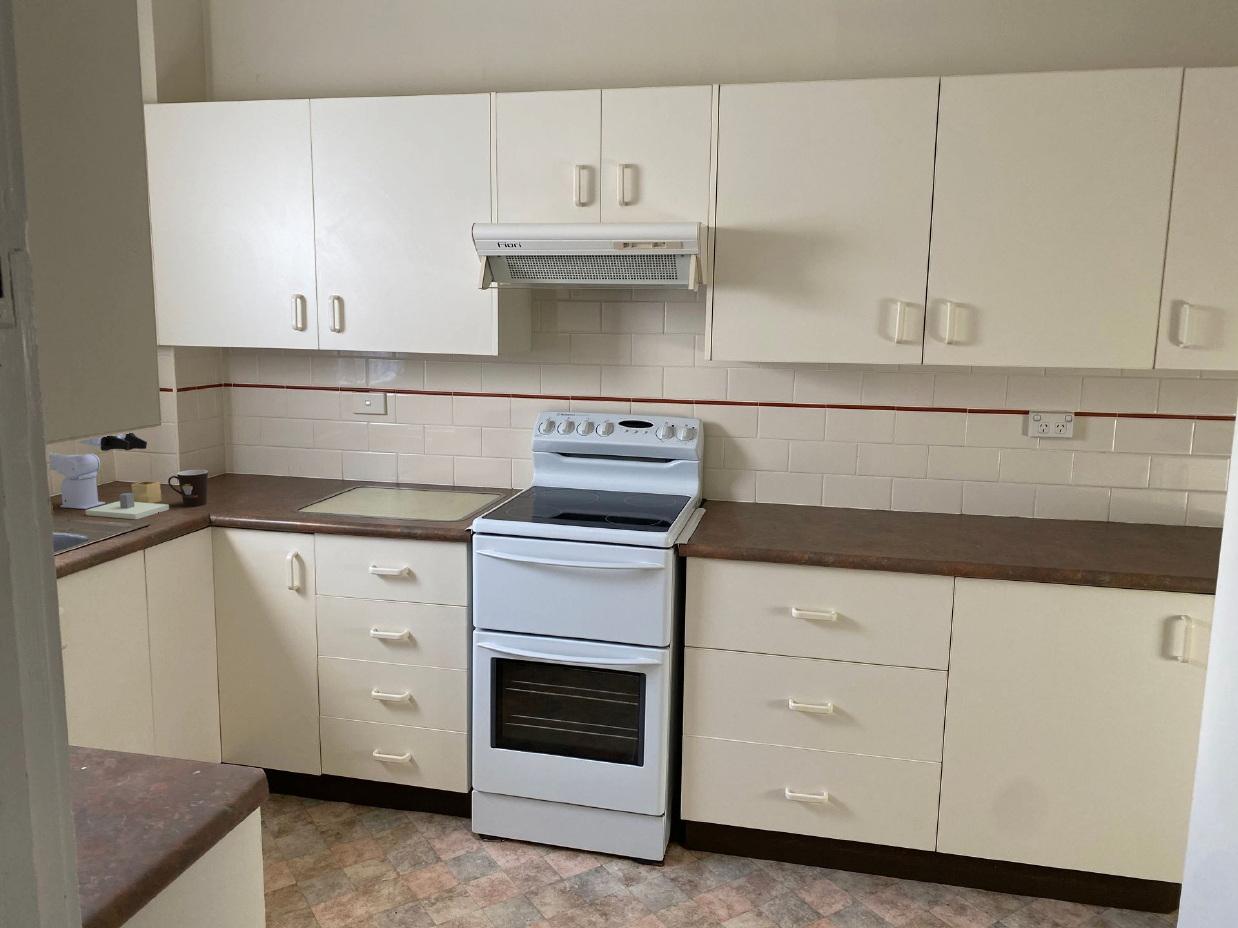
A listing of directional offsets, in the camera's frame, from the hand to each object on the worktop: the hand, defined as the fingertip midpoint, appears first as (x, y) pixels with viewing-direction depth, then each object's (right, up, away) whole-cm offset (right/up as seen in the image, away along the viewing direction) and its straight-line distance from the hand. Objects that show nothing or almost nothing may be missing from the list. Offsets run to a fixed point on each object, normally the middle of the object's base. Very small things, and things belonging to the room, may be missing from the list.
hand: (137, 445), depth 281 cm
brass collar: (-3, -17, +13) cm, 22 cm away
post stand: (-2, -20, -1) cm, 20 cm away
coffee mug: (+12, -18, +11) cm, 24 cm away
